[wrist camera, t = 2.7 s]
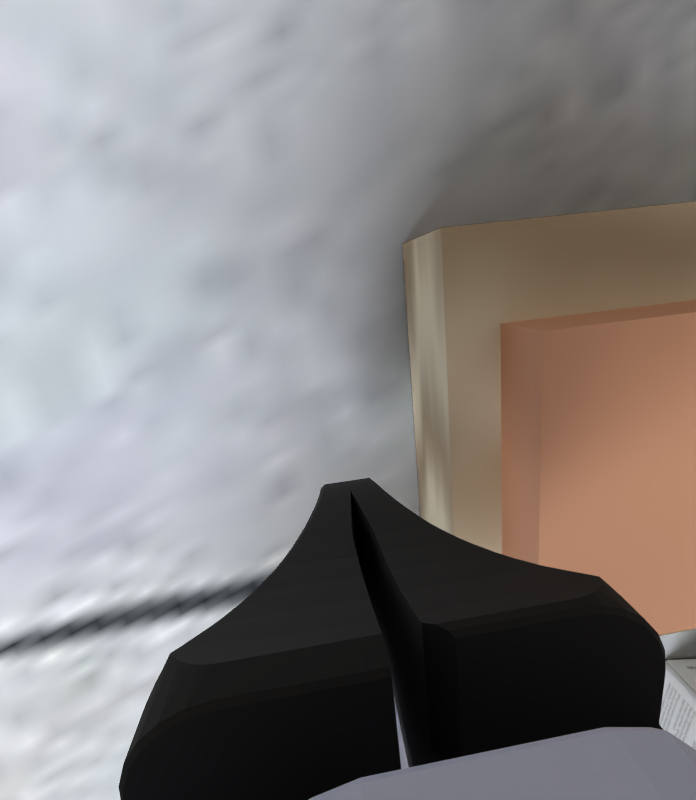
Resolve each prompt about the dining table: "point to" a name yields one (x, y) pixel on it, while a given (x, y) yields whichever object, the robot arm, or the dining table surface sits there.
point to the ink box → (680, 700)
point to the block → (605, 452)
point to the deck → (510, 302)
